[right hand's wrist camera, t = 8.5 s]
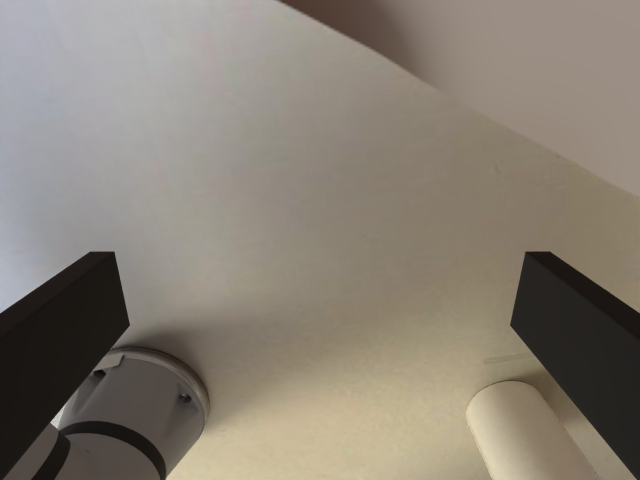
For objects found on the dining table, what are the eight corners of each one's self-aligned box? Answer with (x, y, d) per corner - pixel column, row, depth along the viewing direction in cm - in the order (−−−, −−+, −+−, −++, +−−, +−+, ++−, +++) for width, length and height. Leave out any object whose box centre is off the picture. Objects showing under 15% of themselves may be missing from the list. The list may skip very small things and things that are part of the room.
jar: (476, 447, 48) (539, 594, 34) (457, 394, 45) (518, 532, 31) (550, 427, 47) (647, 571, 33) (535, 370, 43) (637, 503, 29)
